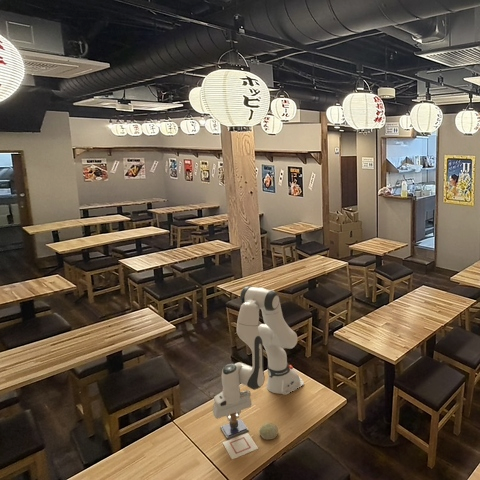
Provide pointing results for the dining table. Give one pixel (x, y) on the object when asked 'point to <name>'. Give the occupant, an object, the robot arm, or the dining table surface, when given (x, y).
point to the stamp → (233, 420)
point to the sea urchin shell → (268, 431)
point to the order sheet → (240, 445)
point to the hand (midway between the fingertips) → (233, 418)
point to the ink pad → (234, 432)
